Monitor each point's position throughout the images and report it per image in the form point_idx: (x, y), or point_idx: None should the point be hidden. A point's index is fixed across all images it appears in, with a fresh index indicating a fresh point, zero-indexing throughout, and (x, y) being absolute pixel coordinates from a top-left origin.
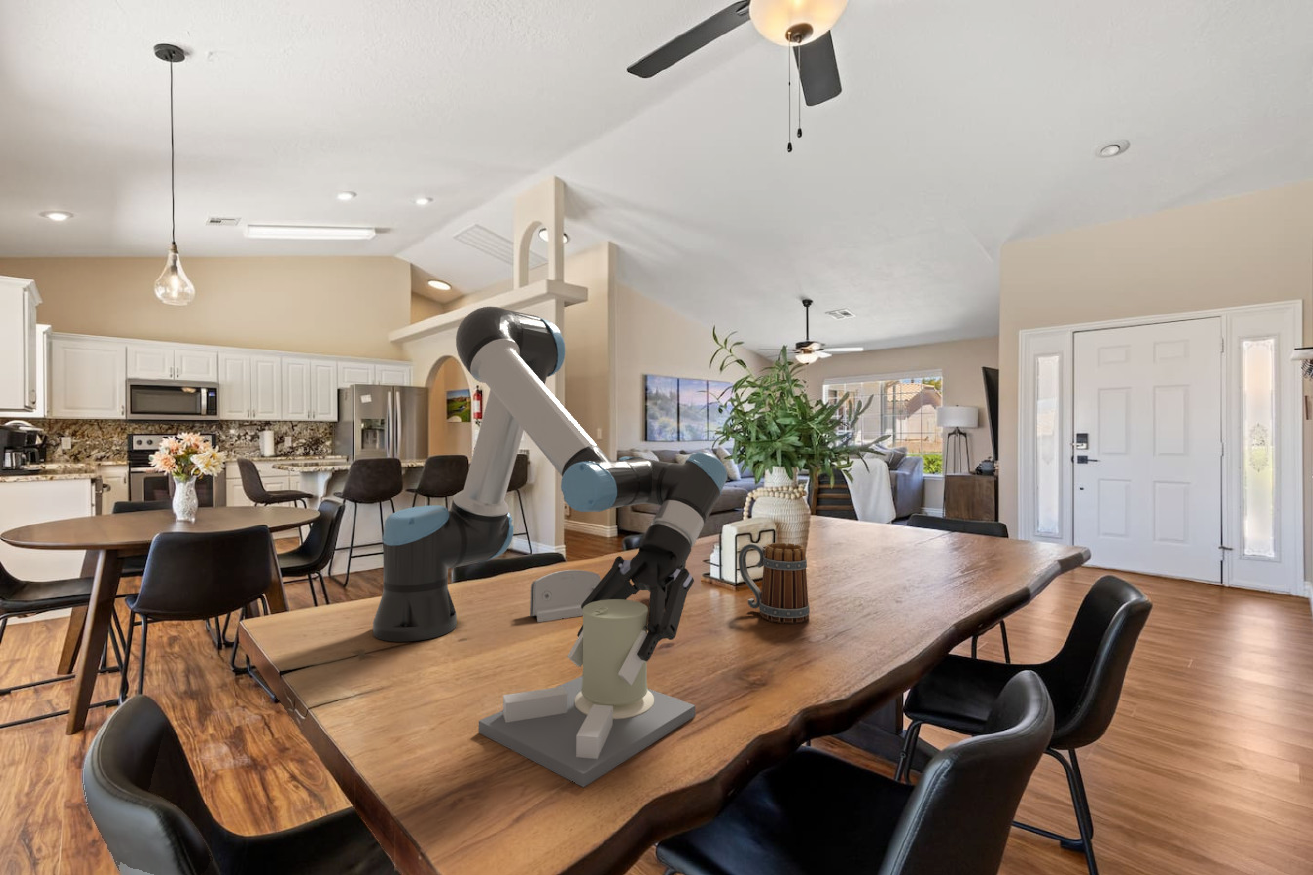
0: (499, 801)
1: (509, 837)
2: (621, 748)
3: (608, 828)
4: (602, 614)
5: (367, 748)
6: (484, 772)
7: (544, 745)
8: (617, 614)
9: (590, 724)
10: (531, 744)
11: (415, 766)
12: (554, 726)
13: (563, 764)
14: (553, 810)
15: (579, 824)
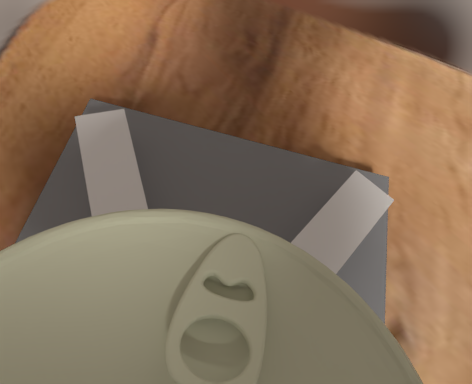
0: (200, 56)
1: (142, 12)
2: (47, 192)
3: (16, 52)
4: (183, 292)
5: (467, 94)
6: (269, 99)
7: (209, 148)
8: (60, 354)
9: (115, 155)
10: (234, 143)
11: (368, 81)
12: (237, 216)
13: (141, 112)
14: (114, 61)
15: (63, 48)
